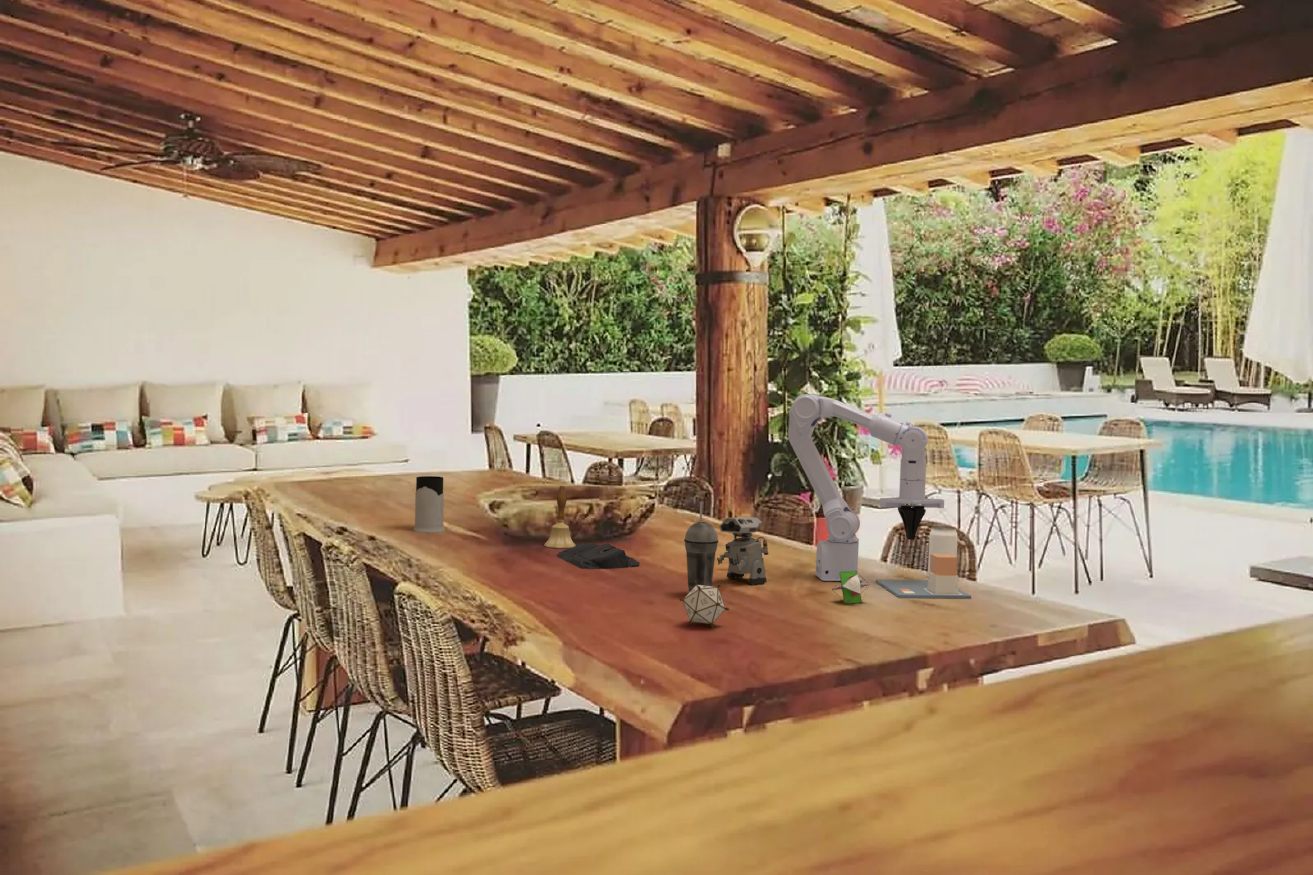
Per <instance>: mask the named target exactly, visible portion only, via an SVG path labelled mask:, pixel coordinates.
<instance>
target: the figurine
mask: <svg viewBox="0 0 1313 875" xmlns="http://www.w3.org/2000/svg"><path fill="white" fill-rule="evenodd" d="M762 524H763V522H762V521H761V520H760V519H759V518H758V517H752V516H737V515H735V516H734V517H726V518H725V519H724V520H723V521H722V522H721V524H720V525H719V530H720V532H721V533H731V534H732V535H733V538H734V539H733V540H732V541H728V542H727V543H726V544H725V551H724V552H723V554H719V557H718V556H717V557H716V560H717V561H718V563H717V566H719V565H720V564H721V565H722V564H723V561H724V560H725V558H726V559H728V569H727V572H726V578H727V579H729V580H735V579H739V580H740V579H743V577H745V575H748V574H749V578H748V584H749V585H751V586H757V585H765V583H767V577H766V567H765V562H764V558H763V556H767V555H769V548H768V540H766V539H765V537H763V536H759V537H758V538H757V539H756V538H753V537H752V536H753V533H754V534H755V533H757V530H758V528H761V527H762ZM761 539H763V540H761Z"/></svg>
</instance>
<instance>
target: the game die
mask: <svg viewBox="0 0 1313 875" xmlns="http://www.w3.org/2000/svg"><path fill="white" fill-rule="evenodd" d="M695 585H696V586H695V587H694V588H693V589H692V590H691V591H690V592H689V591H688V593H687V595H685V596H684V598H681V597H679V598H678V600H679V601H680V602H682V604H683V606H684V608H685V611H686V614H687V617H688V619H689V621H687V626H688V625H691V624H692V623H695V624H696V623H698V624H706V625H710V626H711V627H710V628H712V629H714V627H715V625H714V624H713V623H715V622H716V620H717V619H718V618H719V617H720V616H721V615H722V614H723V613H724V611H730V610H731V609H730V608H729V607H726V606H725V603H724V600H723V598H722V593H721V591H720V587H721V585H722V584H721V583H718V585H716V586H713V585H712V586H706V585H698V584H697V582H696V581H695Z"/></svg>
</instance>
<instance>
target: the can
mask: <svg viewBox="0 0 1313 875" xmlns="http://www.w3.org/2000/svg"><path fill="white" fill-rule="evenodd" d="M931 554H951V555H953V556H955V557H957V558H958V533H957V528H956V527H955V526H954V527H953V526H948V525H933V526H931V530H930V531H929V539H928V561H927V562H928V563H927V564H928V565H927V575H929V572H930V559H931Z"/></svg>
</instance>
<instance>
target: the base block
mask: <svg viewBox="0 0 1313 875" xmlns="http://www.w3.org/2000/svg"><path fill="white" fill-rule="evenodd" d="M927 575H928V574H927ZM927 578H928V579H927V580H928V590H929V591H931V592H933V593H934V594H958V589H959V575H957V576H937V575H935V574H933V573H931V572H929V575H928V577H927Z"/></svg>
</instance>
